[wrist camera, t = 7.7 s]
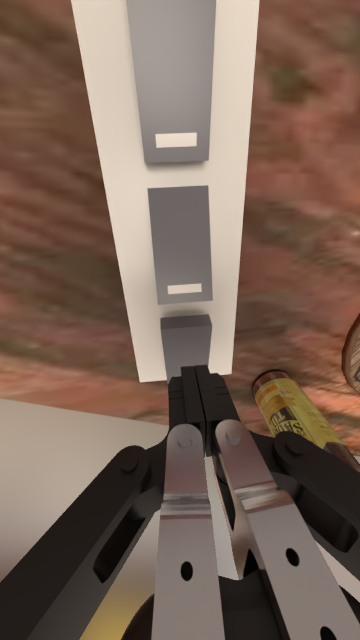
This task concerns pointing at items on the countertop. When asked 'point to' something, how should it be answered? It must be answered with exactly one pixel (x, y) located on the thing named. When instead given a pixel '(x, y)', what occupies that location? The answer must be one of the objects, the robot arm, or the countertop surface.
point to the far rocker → (185, 342)
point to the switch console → (171, 170)
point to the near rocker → (173, 76)
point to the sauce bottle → (297, 414)
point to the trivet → (352, 356)
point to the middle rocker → (181, 243)
